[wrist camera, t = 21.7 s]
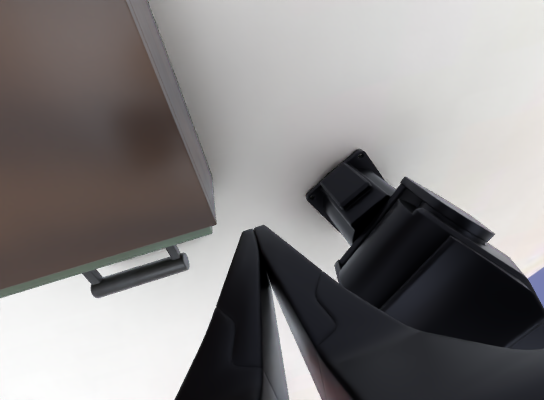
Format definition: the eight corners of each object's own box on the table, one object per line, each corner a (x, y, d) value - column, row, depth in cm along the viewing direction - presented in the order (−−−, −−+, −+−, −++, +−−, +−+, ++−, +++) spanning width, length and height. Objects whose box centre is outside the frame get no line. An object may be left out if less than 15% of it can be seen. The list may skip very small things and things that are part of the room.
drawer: (225, 236, 23) (231, 277, 19) (71, 283, 22) (43, 337, 18) (125, -19, 13) (93, -46, 9) (-165, 40, 12) (-346, 40, 8)
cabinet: (212, 176, 21) (216, 224, 15) (23, 230, 19) (-46, 304, 14) (118, -78, 13) (57, -170, 7) (-215, -17, 11) (-599, -71, 6)
